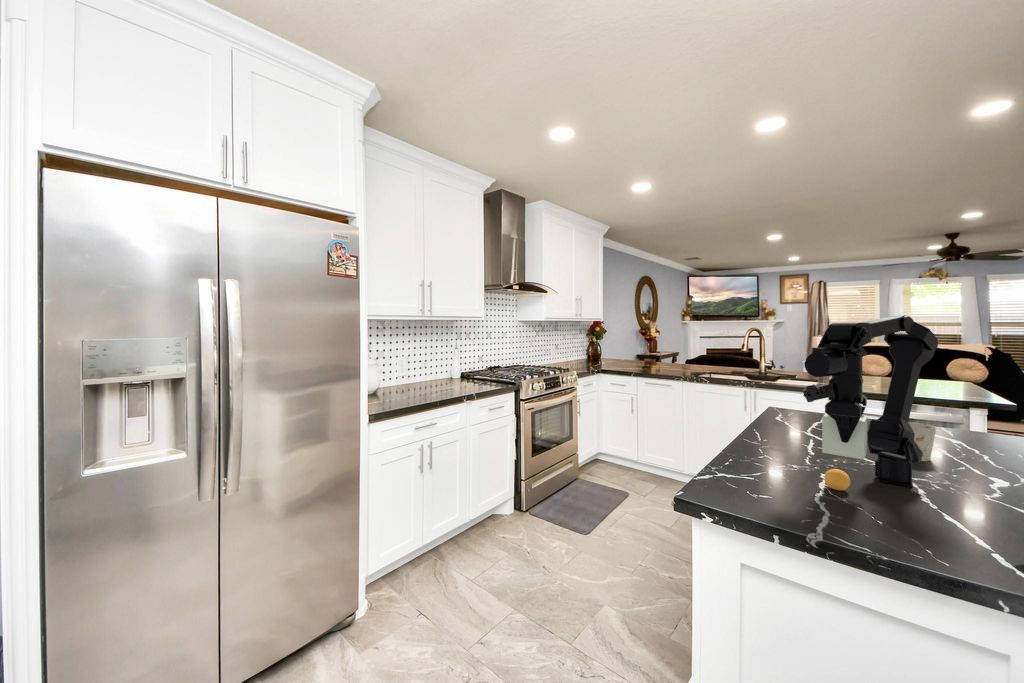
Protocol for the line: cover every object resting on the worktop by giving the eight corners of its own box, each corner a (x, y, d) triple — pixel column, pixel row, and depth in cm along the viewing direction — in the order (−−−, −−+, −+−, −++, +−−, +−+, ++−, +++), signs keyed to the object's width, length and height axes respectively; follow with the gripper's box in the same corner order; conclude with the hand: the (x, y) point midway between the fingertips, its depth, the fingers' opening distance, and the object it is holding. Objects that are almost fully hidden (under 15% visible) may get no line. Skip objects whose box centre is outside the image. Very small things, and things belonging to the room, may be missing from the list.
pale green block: (866, 451, 97) (867, 415, 97) (864, 459, 92) (864, 421, 91) (826, 445, 103) (827, 411, 102) (822, 452, 97) (822, 416, 97)
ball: (840, 463, 100) (821, 472, 103) (837, 468, 96) (817, 477, 99) (857, 481, 97) (837, 490, 100) (854, 487, 94) (833, 496, 97)
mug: (944, 463, 114) (944, 428, 114) (892, 461, 117) (892, 427, 116) (920, 454, 122) (920, 422, 122) (873, 452, 125) (873, 421, 125)
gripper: (812, 369, 108) (812, 426, 109) (798, 376, 95) (798, 441, 96) (866, 371, 101) (866, 433, 101) (859, 379, 87) (859, 450, 88)
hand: (846, 438), depth 97 cm, fingers closed on pale green block, 8 cm apart
